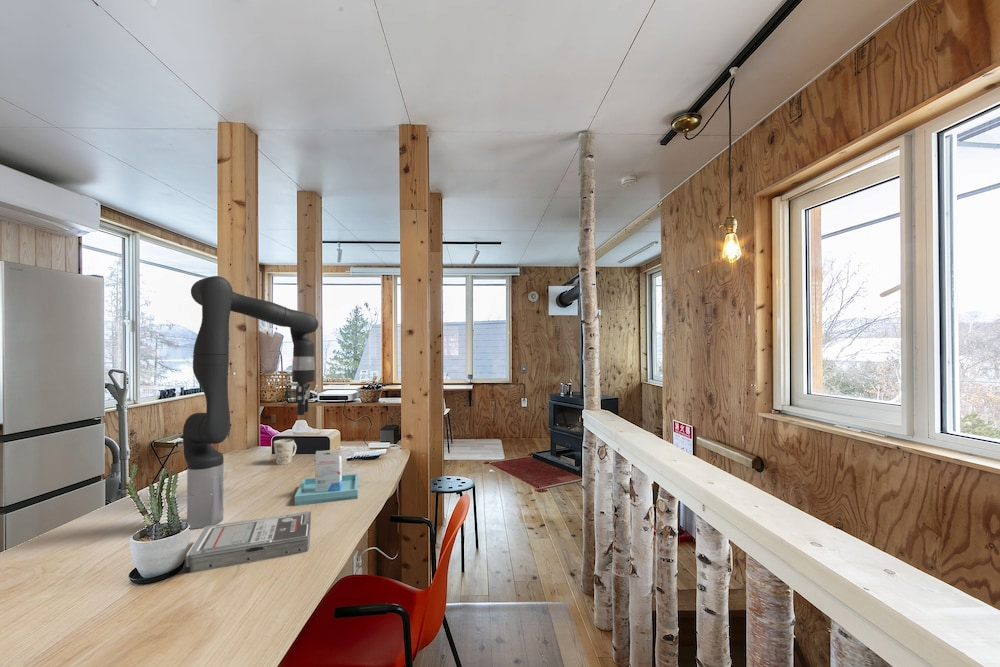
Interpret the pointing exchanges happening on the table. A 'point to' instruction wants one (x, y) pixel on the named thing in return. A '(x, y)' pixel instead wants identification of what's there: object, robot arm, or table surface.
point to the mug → (284, 451)
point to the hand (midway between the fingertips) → (302, 413)
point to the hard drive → (249, 541)
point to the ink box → (328, 471)
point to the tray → (310, 496)
